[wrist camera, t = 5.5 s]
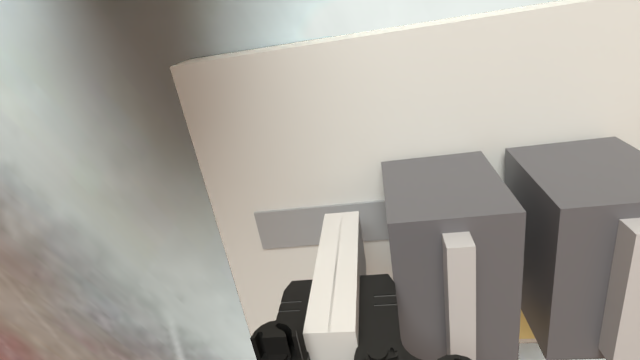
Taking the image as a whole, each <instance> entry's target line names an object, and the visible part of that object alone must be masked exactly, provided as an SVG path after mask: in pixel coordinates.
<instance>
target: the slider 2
mask: <svg viewBox="0 0 640 360" xmlns="http://www.w3.org/2000/svg"><path fill="white" fill-rule="evenodd" d="M504 183H505V184H506V185H507V187H508V188H509V189H510V191H511V192H512V193H513V195H514V196H515V198H516V199H517V200H518V202H519V203H520V204H521V206H522V207H523V208H524V210H525V211H526V227H525V245H524V263H523V280H522V298H521V310H522V312H523V314H524V316H525V318H526V320H527V322H528V324H529V326H530V328H531V330H532V332H533V334H534V337H535V339H536V341H537V343H538V345H539V347H540V349H541V351H542V353H543V355H544V357H545V359H546V360H570V359H601V358H605V359H606V360H640V150H638V149H636V148H635V147H633V146H631V145H629V144H628V143H626V142H624V141H622V140H621V139H619V138H617V137H615V136H614V137H605V138H596V139H587V140H578V141H568V142H559V143H550V144H541V145H532V146H522V147H513V148H505V177H504Z"/></svg>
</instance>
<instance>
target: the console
mask: <svg viewBox="0 0 640 360" xmlns="http://www.w3.org/2000/svg"><path fill="white" fill-rule="evenodd" d="M170 71H171V74H172V77H173V81H174V84H175V87H176V91H177V94H178V97H179V100H180V104H181V107H182V110H183V114H184V117H185V120H186V124H187V127H188V130H189V133H190V137H191V140H192V143H193V147H194V150H195V153H196V157H197V160H198V163H199V166H200V170H201V173H202V176H203V180H204V183H205V186H206V190H207V193H208V196H209V200H210V203H211V206H212V209H213V213H214V216H215V219H216V223H217V226H218V229H219V233H220V236H221V239H222V242H223V246H224V249H225V252H226V256H227V259H228V262H229V266H230V269H231V272H232V275H233V279H234V282H235V285H236V289H237V292H238V295H239V299H240V302H241V305H242V308H243V312H244V315H245V318H246V322H247V325H248V328H249V332H250V335H251V336H252V335H253V333H254V331H255V330H257V329H258V328H259V327H260V326H261V325H263V324H265V323H267V322H270V321H275V320H276V318H277V314H278V313H279V307H280V304H281V299H282V296H283V292H284V290H285V289H286V288H287V286H288V285H289V284H290V283H291V281H297V280H313V275H314V269H315V264H316V258H317V253H318V248H319V242H320V237H321V231H322V226H323V220H324V215H325V214H330V213H341V212H352V211H359V216H360V223H361V230H362V237H363V245H364V252H365V259H366V275H376V274H389V276H390V277H391V278H392V280H393V273H392V263H391V254H390V244H389V234H388V225H387V215H386V206H385V196H384V186H383V177H382V167H381V162H384V161H394V160H403V159H412V158H421V157H430V156H440V155H449V154H458V153H467V152H476V151H481V152H482V153H483V154H484V156H485V157H486V158H487V160H488V161H489V162H490V164H491V165H492V166H493V168H494V169H495V171H496V172H497V173H498V175H499V176H500V177H501V179H502V180H503V181H504V177H505V148H513V147H522V146H532V145H541V144H550V143H559V142H568V141H578V140H587V139H596V138H605V137H614V136H615V137H617V138H619V139H621V140H622V141H624V142H626V143H628V144H629V145H631V146H633V147H635V148H636V149H638V150H640V0H560V1H553V2H547V3H541V4H534V5H528V6H522V7H515V8H509V9H503V10H497V11H490V12H484V13H478V14H471V15H465V16H459V17H453V18H446V19H440V20H434V21H427V22H421V23H415V24H408V25H402V26H396V27H390V28H383V29H377V30H371V31H364V32H358V33H352V34H346V35H339V36H333V37H327V38H320V39H314V40H308V41H302V42H295V43H289V44H283V45H276V46H270V47H264V48H257V49H251V50H245V51H239V52H232V53H226V54H220V55H213V56H207V57H201V58H195V59H188V60H186V61H183V62H181V63H178V64H175V65H173V66H170ZM519 343H537V341H536V339H535V337H534V334H533V332H532V330H531V328H530V326H529V324H528V322H527V320H526V318H525V316H524V314H523V312H522V310H521V316H520V333H519Z"/></svg>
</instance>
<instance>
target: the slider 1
mask: <svg viewBox="0 0 640 360" xmlns="http://www.w3.org/2000/svg"><path fill="white" fill-rule="evenodd" d="M381 167H382V177H383V186H384V196H385V206H386V215H387V225H388V234H389V244H390V254H391V263H392V273H393V281H394V282H395V288H396V298H397V307H398V317H399V326H400V336H401V342H402V345H403V346H404V348H405V349H406V350H407V351H408V352H409V353H410V354H411V355H413V356H414V357H416V358H418V359H421V360H437V359H439V358H441V357H443V356H445V355H454V354H457V355H461V356H466V357H468V358H470V359H472V360H518V351H519V333H520V316H521V298H522V280H523V263H524V245H525V227H526V211H525V210H524V208H523V207H522V206H521V204H520V203H519V202H518V200H517V199H516V198H515V196H514V195H513V193H512V192H511V191H510V189H509V188H508V187H507V185H506V184H505V183H504V181H503V180H502V179H501V177H500V176H499V175H498V173H497V172H496V171H495V169H494V168H493V166H492V165H491V164H490V162H489V161H488V160H487V158H486V157H485V156H484V154H483V153H482V152H481V151H476V152H467V153H458V154H449V155H440V156H430V157H421V158H412V159H403V160H394V161H384V162H381Z"/></svg>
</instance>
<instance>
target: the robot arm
mask: <svg viewBox="0 0 640 360" xmlns="http://www.w3.org/2000/svg"><path fill="white" fill-rule="evenodd" d="M250 339H251V342H252V345H253V348H254V352H255V355H256V358H257V360H421V359H418V358H416V357H414V356H413V355H411V354H410V353H409V352H408V351H407V350H406V349H405V348H404V346H403V345H402V342H401V336H400V326H399V317H398V307H397V298H396V288H395V282H394V281H393V280H392V278H391V277H390V276H389V274H376V275H366V259H365V252H364V245H363V237H362V230H361V223H360V216H359V211H352V212H341V213H330V214H325V215H324V220H323V226H322V231H321V237H320V242H319V248H318V253H317V258H316V264H315V269H314V275H313V280H297V281H291V283H290V284H289V285H288V286H287V288H286V289H285V290H284V292H283V296H282V299H281V304H280V307H279V313H278V314H277V318H276V320H275V321H270V322H267V323H265V324H263V325H261V326H260V327H259V328H258V329H257V330H255V331H254V333H253V335H252V336H251V338H250ZM437 360H472V359H470V358H468V357H466V356H461V355H457V354H454V355H445V356H443V357H441V358H439V359H437Z"/></svg>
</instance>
